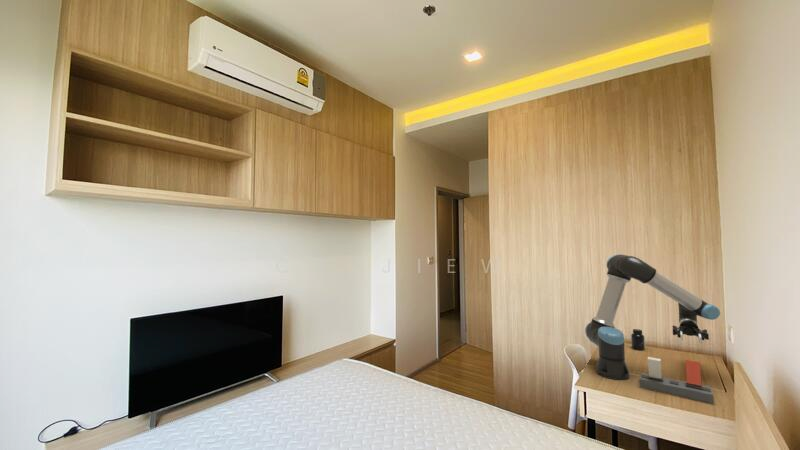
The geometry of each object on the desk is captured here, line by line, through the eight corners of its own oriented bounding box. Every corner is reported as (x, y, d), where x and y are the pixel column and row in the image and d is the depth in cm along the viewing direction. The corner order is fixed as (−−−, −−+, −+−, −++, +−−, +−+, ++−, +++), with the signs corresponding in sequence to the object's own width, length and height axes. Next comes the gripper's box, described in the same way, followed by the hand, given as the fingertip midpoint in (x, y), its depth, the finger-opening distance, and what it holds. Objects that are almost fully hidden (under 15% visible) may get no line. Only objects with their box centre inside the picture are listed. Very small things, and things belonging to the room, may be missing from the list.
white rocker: (648, 377, 159) (647, 358, 157) (648, 375, 160) (647, 356, 158) (661, 379, 156) (660, 361, 154) (661, 377, 157) (660, 359, 155)
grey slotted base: (639, 387, 159) (639, 378, 159) (641, 380, 165) (640, 371, 166) (713, 404, 142) (713, 393, 142) (711, 395, 149) (711, 385, 149)
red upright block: (686, 384, 150) (685, 360, 153) (686, 383, 152) (685, 360, 154) (701, 387, 147) (699, 362, 150) (701, 386, 148) (699, 362, 151)
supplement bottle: (645, 351, 203) (644, 332, 204) (632, 349, 207) (631, 330, 207) (644, 348, 209) (643, 329, 210) (631, 346, 213) (630, 327, 213)
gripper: (713, 337, 167) (719, 350, 150) (666, 331, 180) (665, 342, 162) (713, 322, 168) (718, 334, 150) (665, 317, 180) (665, 327, 162)
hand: (691, 338), depth 156 cm, fingers open, 6 cm apart
